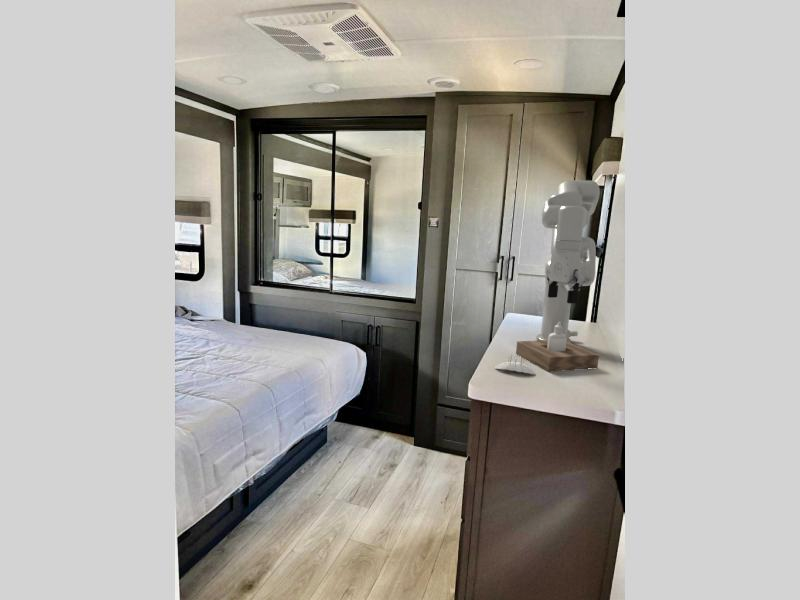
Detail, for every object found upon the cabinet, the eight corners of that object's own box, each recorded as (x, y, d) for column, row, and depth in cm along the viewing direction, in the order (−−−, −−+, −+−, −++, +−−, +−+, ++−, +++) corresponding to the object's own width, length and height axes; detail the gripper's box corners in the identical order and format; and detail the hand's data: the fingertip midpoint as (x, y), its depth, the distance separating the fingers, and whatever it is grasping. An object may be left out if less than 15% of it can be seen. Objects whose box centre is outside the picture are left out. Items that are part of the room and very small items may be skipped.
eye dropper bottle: (563, 361, 142) (567, 324, 140) (545, 358, 145) (549, 322, 143) (565, 357, 146) (569, 322, 144) (547, 355, 149) (551, 319, 146)
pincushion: (492, 372, 132) (494, 354, 131) (495, 366, 138) (497, 349, 137) (534, 379, 128) (536, 360, 127) (535, 372, 134) (537, 354, 133)
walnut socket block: (560, 352, 157) (562, 339, 156) (597, 368, 140) (599, 354, 139) (515, 354, 151) (517, 341, 150) (548, 371, 134) (549, 357, 133)
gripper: (541, 244, 146) (535, 295, 149) (576, 248, 130) (569, 305, 133) (560, 244, 148) (554, 295, 151) (597, 248, 132) (590, 305, 135)
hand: (561, 300), depth 142 cm, fingers open, 9 cm apart
